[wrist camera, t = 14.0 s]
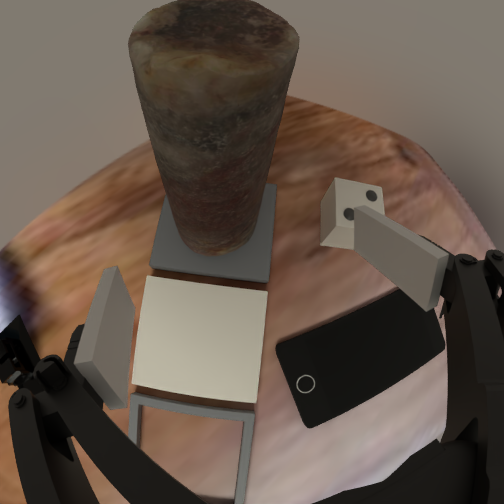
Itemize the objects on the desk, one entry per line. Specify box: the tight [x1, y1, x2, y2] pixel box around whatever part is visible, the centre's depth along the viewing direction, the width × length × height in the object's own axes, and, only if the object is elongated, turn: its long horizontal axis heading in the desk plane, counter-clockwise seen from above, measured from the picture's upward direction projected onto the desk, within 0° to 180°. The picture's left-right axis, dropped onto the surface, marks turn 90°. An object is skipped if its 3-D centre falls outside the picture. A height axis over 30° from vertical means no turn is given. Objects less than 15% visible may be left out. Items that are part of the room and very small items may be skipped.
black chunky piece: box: [0, 315, 45, 395], centre depth 20 cm, size 12×7×5 cm, turn 40°
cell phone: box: [276, 289, 445, 428], centre depth 26 cm, size 9×18×1 cm, turn 111°
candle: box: [128, 0, 299, 257], centre depth 18 cm, size 8×7×20 cm
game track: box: [128, 183, 277, 504], centre depth 24 cm, size 11×34×1 cm, turn 174°
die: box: [320, 177, 385, 250], centre depth 27 cm, size 5×5×5 cm
